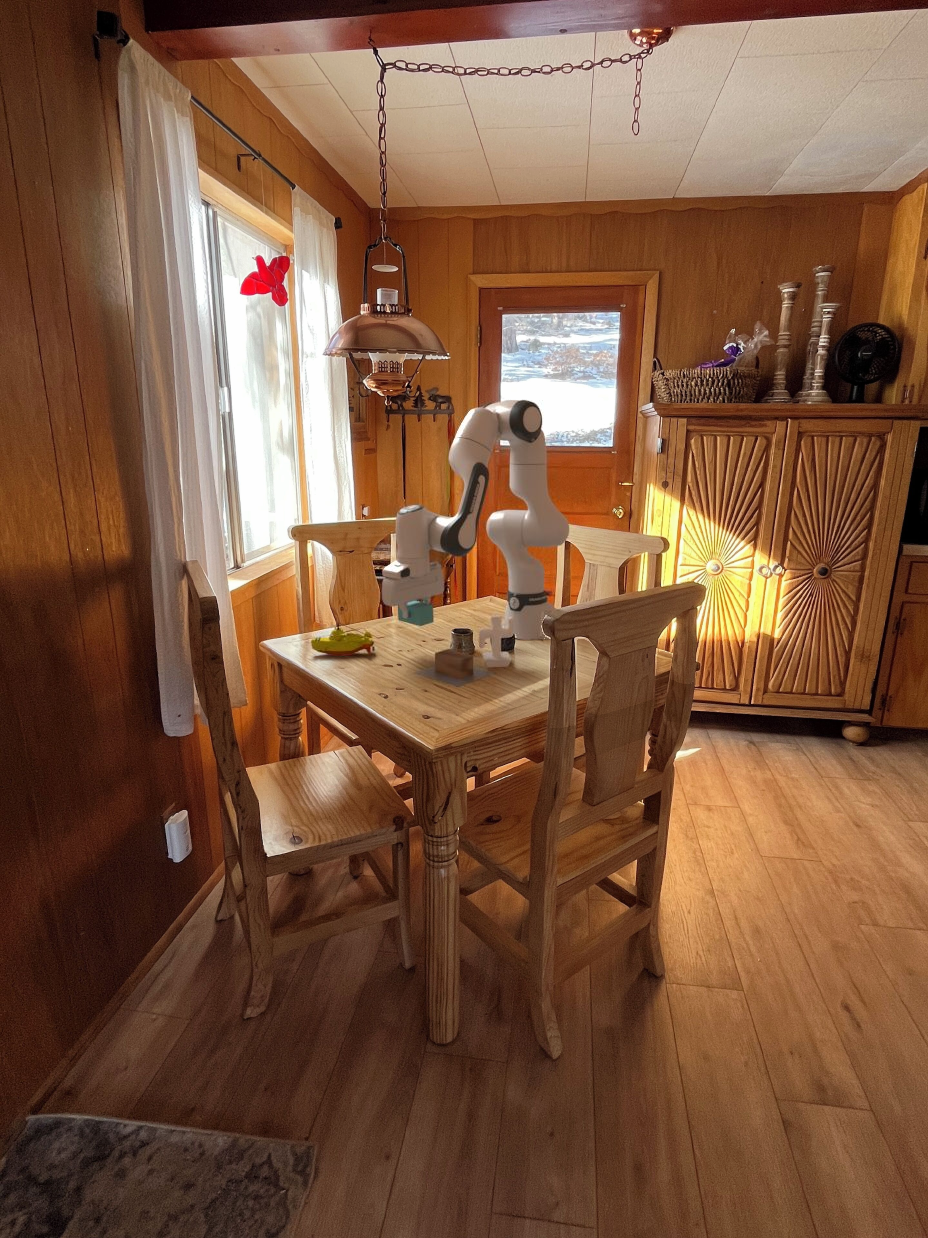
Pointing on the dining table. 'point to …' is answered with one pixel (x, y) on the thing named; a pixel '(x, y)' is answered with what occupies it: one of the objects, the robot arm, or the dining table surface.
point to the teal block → (417, 613)
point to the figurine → (496, 641)
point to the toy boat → (343, 642)
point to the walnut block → (454, 663)
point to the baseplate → (454, 681)
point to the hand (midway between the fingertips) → (415, 615)
